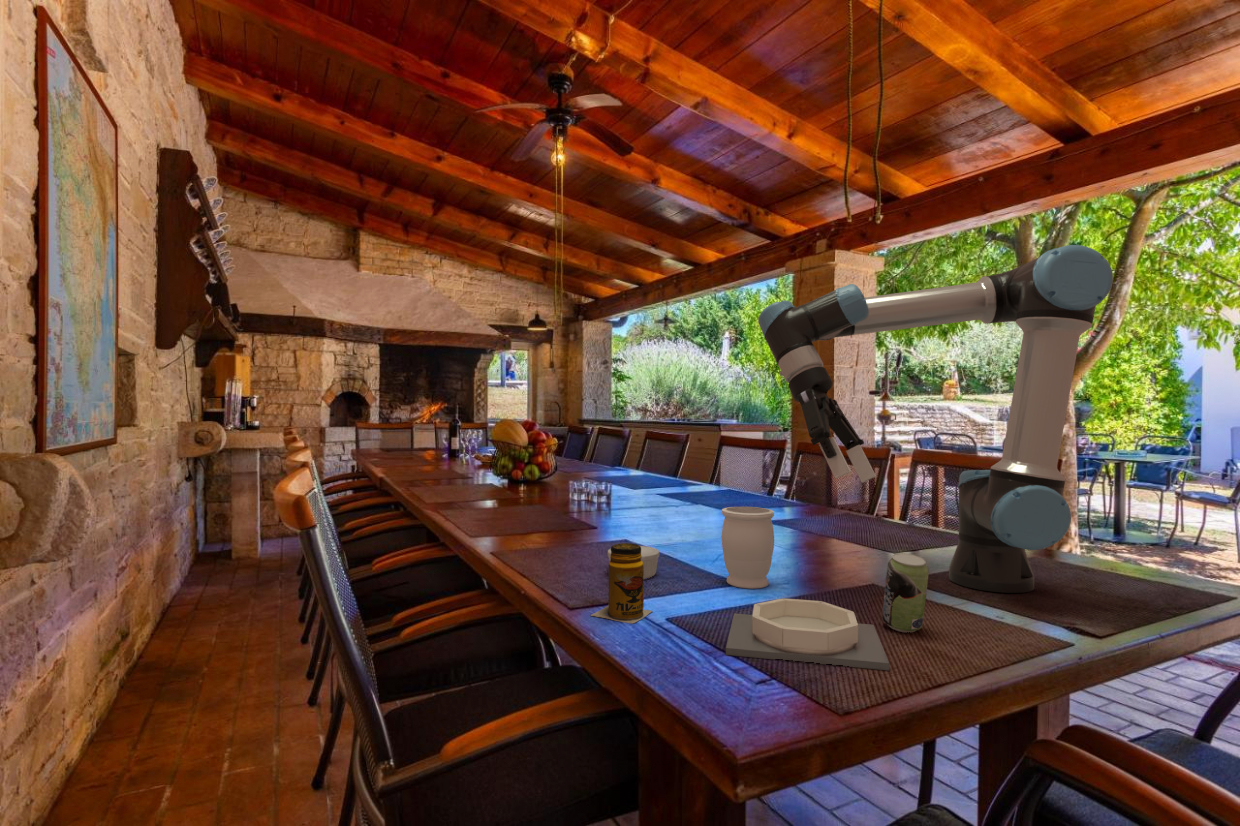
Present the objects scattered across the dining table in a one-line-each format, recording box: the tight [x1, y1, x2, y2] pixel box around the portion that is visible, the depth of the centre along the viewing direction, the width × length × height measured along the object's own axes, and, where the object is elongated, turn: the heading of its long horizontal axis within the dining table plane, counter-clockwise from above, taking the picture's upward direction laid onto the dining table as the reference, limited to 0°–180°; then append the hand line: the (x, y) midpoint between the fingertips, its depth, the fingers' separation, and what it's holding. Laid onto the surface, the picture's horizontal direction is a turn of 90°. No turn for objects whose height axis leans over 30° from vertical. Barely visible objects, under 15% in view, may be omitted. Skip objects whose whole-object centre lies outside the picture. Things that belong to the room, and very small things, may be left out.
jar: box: [721, 506, 775, 590], centre depth 130 cm, size 11×10×15 cm
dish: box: [751, 598, 859, 655], centre depth 98 cm, size 15×15×3 cm
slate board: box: [725, 612, 890, 672], centre depth 98 cm, size 22×16×1 cm
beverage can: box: [881, 552, 930, 633], centre depth 103 cm, size 6×7×12 cm
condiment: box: [590, 542, 653, 624], centre depth 111 cm, size 7×8×12 cm
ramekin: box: [607, 545, 660, 580], centre depth 137 cm, size 11×11×5 cm
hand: (856, 477), depth 113 cm, fingers open, 13 cm apart
